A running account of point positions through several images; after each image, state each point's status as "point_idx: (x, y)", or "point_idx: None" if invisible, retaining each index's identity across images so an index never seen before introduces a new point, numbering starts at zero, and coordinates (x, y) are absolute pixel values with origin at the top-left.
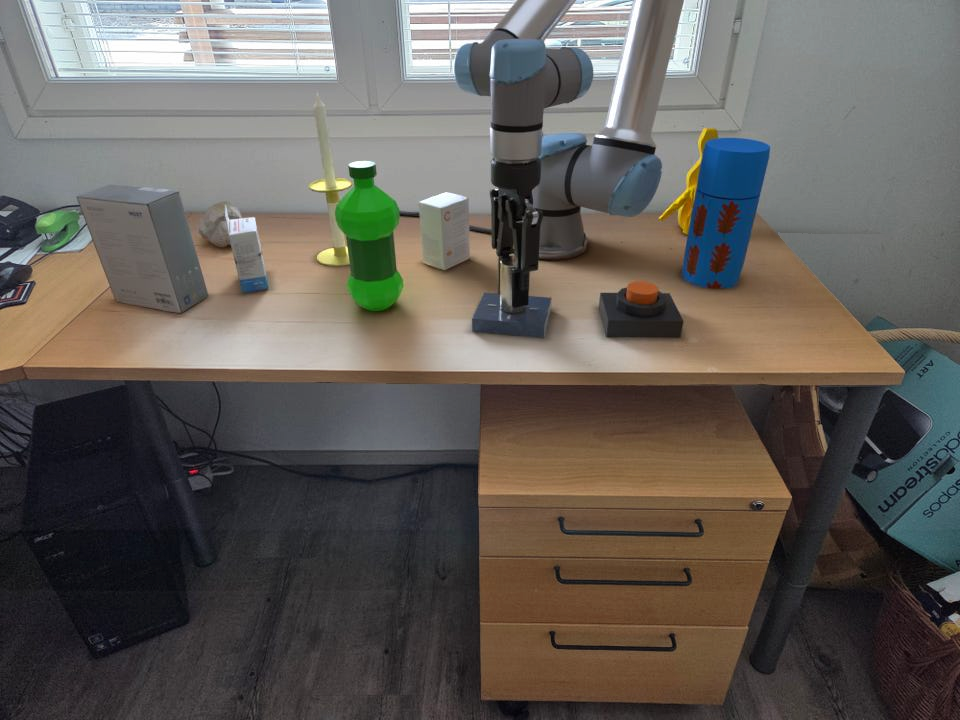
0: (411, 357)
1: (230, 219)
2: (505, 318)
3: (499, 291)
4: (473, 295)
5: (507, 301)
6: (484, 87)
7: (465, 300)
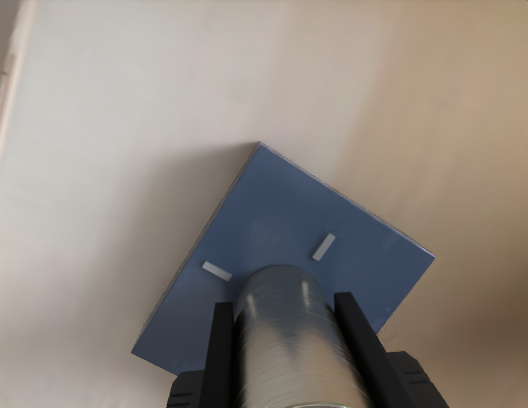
0: None
1: None
2: (216, 256)
3: (343, 299)
4: (488, 228)
5: (252, 298)
6: None
7: (469, 192)
